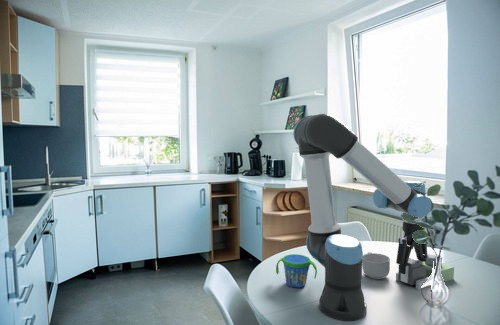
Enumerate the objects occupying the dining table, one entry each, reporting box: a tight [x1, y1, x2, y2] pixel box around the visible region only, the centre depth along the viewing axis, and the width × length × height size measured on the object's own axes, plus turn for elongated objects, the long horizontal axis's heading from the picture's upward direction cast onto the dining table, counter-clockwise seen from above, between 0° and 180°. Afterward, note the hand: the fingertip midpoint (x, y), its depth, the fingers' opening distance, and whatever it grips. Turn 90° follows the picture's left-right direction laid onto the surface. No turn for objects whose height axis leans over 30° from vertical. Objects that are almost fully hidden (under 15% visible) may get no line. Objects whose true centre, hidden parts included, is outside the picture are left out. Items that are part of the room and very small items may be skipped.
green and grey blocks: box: [395, 253, 455, 291], centre depth 138 cm, size 21×11×8 cm, turn 119°
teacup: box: [362, 251, 391, 280], centre depth 143 cm, size 14×11×8 cm
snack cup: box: [275, 253, 318, 289], centre depth 134 cm, size 16×10×10 cm
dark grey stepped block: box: [398, 257, 426, 286], centre depth 134 cm, size 8×6×8 cm
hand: (411, 279), depth 134 cm, fingers closed on dark grey stepped block, 8 cm apart
